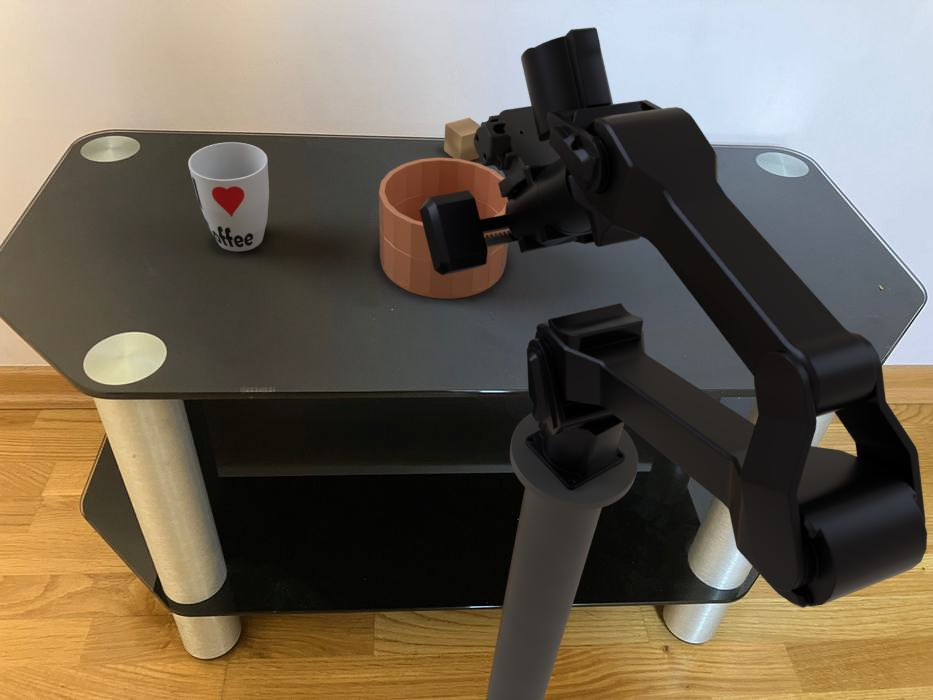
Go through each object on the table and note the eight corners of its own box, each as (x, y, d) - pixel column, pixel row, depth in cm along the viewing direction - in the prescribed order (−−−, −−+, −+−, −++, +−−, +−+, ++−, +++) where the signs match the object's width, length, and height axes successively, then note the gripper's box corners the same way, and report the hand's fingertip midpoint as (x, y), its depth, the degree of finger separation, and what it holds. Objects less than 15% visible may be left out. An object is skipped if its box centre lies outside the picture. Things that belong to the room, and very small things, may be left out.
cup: (189, 247, 88) (172, 168, 81) (231, 212, 94) (218, 135, 87) (251, 267, 86) (238, 188, 79) (290, 229, 92) (281, 153, 85)
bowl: (530, 273, 88) (540, 205, 82) (424, 314, 82) (426, 244, 76) (459, 212, 97) (463, 146, 91) (357, 246, 90) (355, 177, 84)
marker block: (484, 156, 107) (486, 129, 105) (460, 163, 105) (461, 136, 103) (467, 144, 110) (469, 117, 107) (443, 150, 108) (445, 123, 105)
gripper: (649, 78, 62) (562, 140, 77) (431, 108, 56) (382, 169, 71) (682, 214, 62) (589, 250, 77) (469, 259, 56) (412, 289, 71)
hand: (496, 237), depth 74 cm, fingers open, 9 cm apart
